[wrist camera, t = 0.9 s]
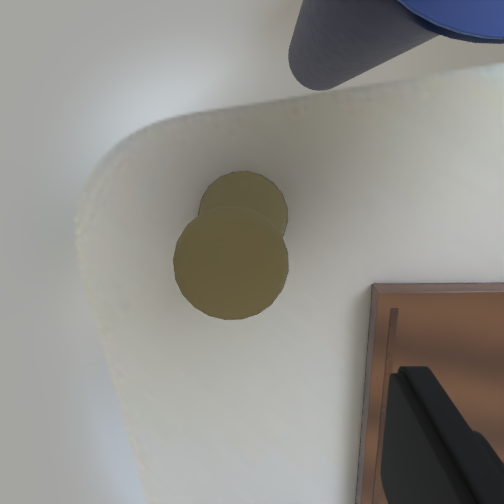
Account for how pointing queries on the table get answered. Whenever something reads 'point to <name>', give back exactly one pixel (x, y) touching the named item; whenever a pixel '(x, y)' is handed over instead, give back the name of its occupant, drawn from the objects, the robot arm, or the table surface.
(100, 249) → the table surface
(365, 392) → the cutting board
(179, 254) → the olive tapered rounded piece
